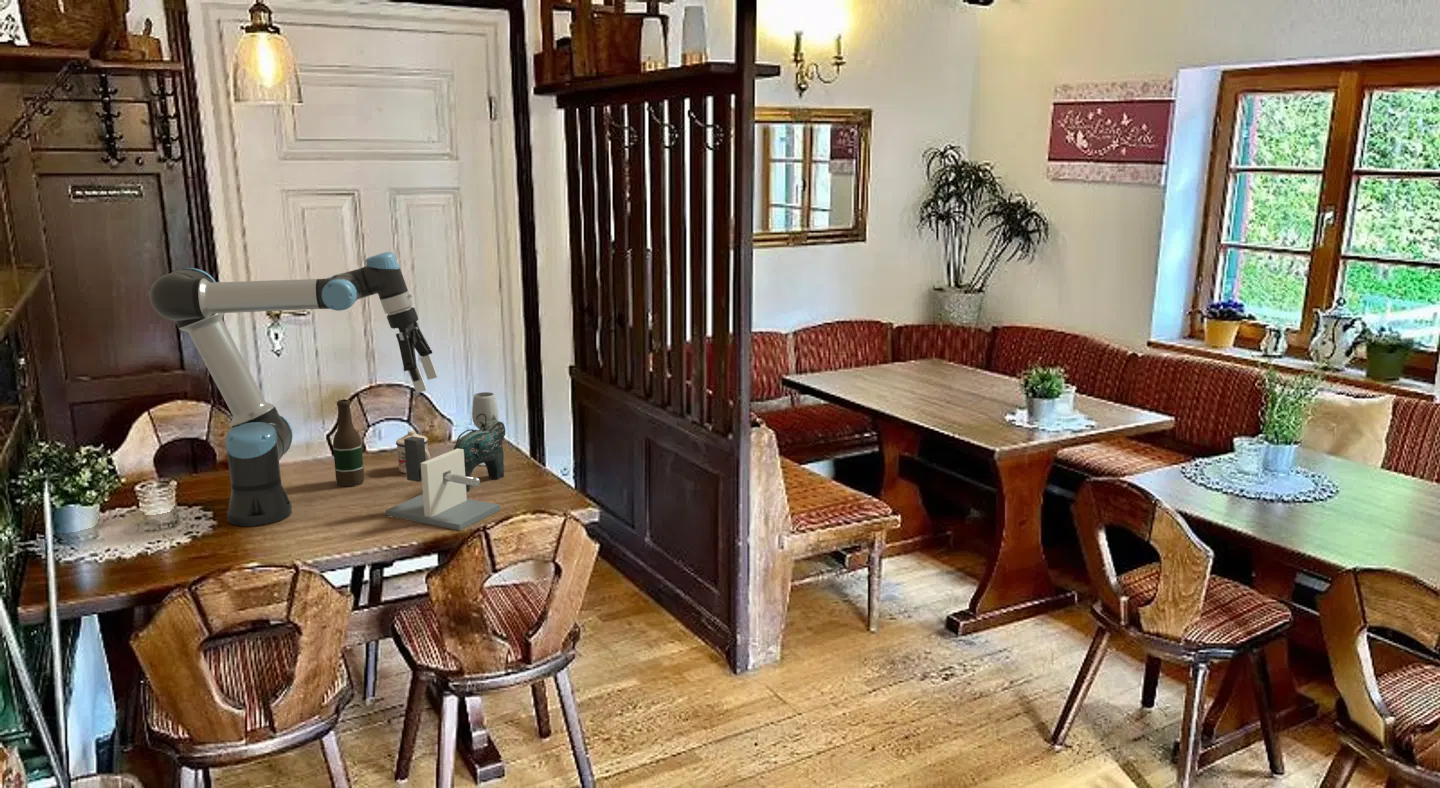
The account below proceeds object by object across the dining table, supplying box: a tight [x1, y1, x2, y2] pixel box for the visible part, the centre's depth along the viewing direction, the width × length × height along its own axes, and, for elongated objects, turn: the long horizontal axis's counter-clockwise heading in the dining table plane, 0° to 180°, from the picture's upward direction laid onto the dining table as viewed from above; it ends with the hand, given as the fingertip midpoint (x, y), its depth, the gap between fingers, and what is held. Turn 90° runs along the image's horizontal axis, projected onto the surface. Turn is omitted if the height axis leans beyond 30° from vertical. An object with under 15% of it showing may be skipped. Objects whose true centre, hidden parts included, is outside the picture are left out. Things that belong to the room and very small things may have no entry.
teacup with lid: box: [395, 430, 431, 474], centre depth 295 cm, size 12×9×12 cm
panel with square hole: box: [385, 448, 501, 531], centre depth 260 cm, size 16×24×16 cm, turn 65°
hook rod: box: [404, 436, 481, 488], centre depth 258 cm, size 3×22×11 cm, turn 65°
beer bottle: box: [332, 399, 365, 488], centre depth 283 cm, size 8×8×24 cm
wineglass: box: [471, 391, 499, 467], centre depth 301 cm, size 8×8×21 cm
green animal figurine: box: [453, 413, 506, 493], centre depth 282 cm, size 20×6×20 cm, turn 152°
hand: (427, 384), depth 273 cm, fingers open, 13 cm apart
